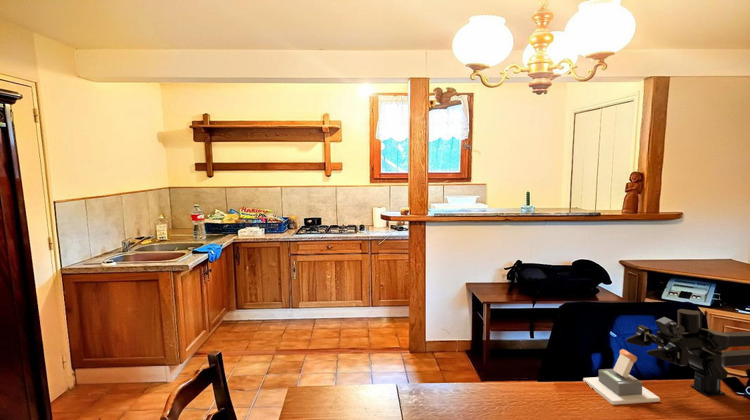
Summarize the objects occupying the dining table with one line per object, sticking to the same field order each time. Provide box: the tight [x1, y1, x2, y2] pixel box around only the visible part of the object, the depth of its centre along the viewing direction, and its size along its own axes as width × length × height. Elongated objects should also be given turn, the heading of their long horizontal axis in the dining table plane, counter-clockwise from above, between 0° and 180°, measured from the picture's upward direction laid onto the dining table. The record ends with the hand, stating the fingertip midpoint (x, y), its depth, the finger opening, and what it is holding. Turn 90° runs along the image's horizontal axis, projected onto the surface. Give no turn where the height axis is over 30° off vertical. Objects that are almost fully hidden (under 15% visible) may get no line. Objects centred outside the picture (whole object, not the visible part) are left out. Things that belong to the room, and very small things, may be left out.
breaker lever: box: [612, 348, 638, 378], centre depth 129 cm, size 2×5×8 cm, turn 4°
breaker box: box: [582, 368, 661, 406], centre depth 130 cm, size 16×15×5 cm
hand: (636, 346), depth 127 cm, fingers open, 9 cm apart
